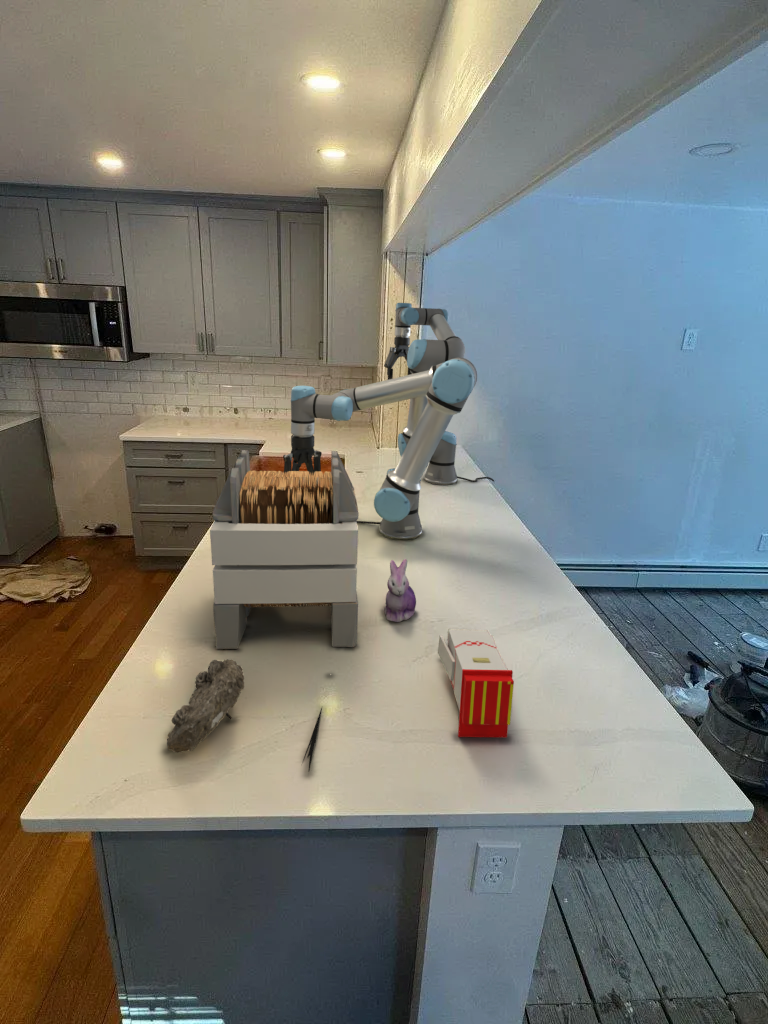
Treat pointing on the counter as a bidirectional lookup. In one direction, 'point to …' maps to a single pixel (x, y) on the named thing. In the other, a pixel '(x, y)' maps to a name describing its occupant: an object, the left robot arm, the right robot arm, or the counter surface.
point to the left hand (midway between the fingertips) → (302, 502)
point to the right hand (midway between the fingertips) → (399, 381)
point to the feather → (313, 740)
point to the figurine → (399, 594)
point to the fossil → (206, 705)
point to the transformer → (285, 547)
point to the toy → (478, 682)
